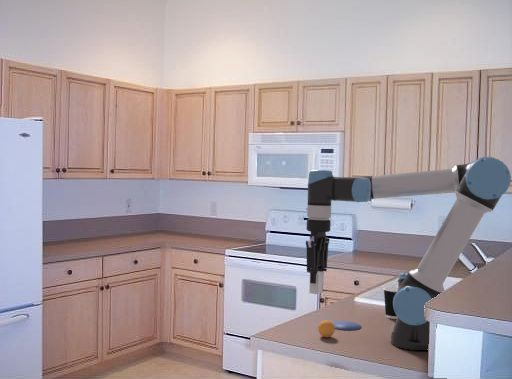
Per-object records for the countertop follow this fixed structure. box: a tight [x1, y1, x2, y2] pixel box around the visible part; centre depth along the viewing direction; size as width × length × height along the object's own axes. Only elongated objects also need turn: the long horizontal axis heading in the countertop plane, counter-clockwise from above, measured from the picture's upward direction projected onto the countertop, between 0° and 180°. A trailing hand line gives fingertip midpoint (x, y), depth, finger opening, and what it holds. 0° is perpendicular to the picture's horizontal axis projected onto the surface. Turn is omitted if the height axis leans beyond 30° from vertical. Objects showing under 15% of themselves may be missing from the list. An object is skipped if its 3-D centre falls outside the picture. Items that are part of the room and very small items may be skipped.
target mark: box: [331, 320, 362, 331], centre depth 203 cm, size 12×12×1 cm
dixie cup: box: [383, 286, 398, 320], centre depth 218 cm, size 8×8×11 cm
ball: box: [317, 319, 336, 338], centre depth 188 cm, size 6×6×6 cm
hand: (316, 292), depth 180 cm, fingers open, 3 cm apart
